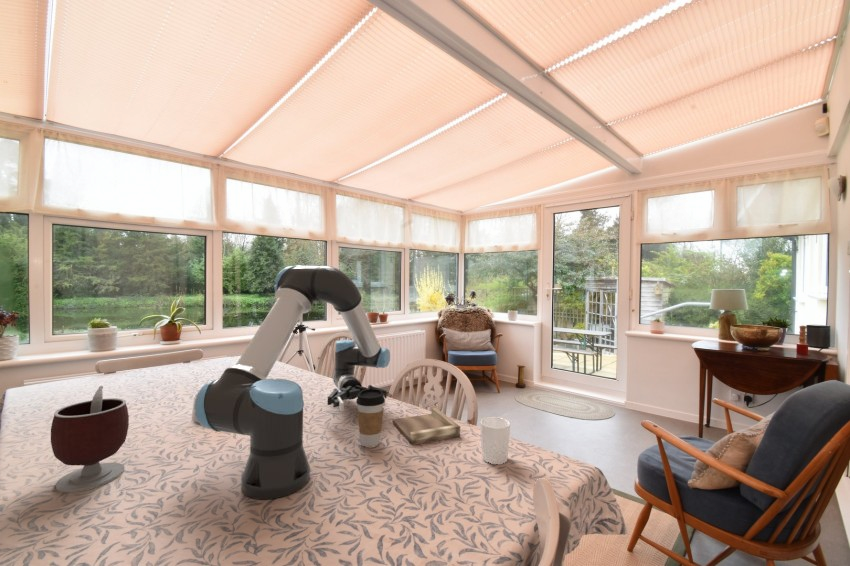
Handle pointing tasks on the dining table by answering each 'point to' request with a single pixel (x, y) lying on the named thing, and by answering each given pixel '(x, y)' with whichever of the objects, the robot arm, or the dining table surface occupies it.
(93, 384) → the dining table surface
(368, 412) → the coffee cup
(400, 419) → the wooden tray
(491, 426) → the white cup
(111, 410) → the mate gourd
